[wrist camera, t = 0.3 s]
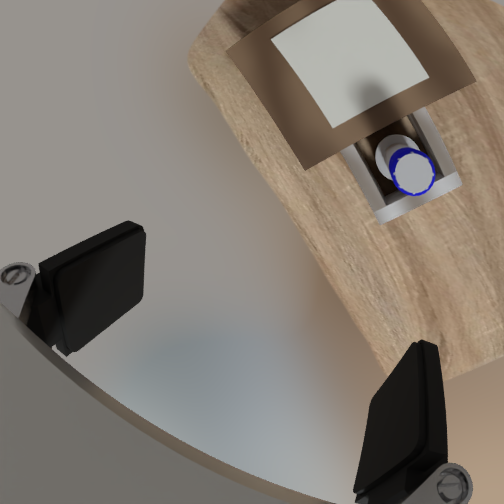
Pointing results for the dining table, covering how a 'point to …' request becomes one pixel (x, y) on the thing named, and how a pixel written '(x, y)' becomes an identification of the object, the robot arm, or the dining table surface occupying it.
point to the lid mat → (349, 58)
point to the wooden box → (371, 120)
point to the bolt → (405, 165)
